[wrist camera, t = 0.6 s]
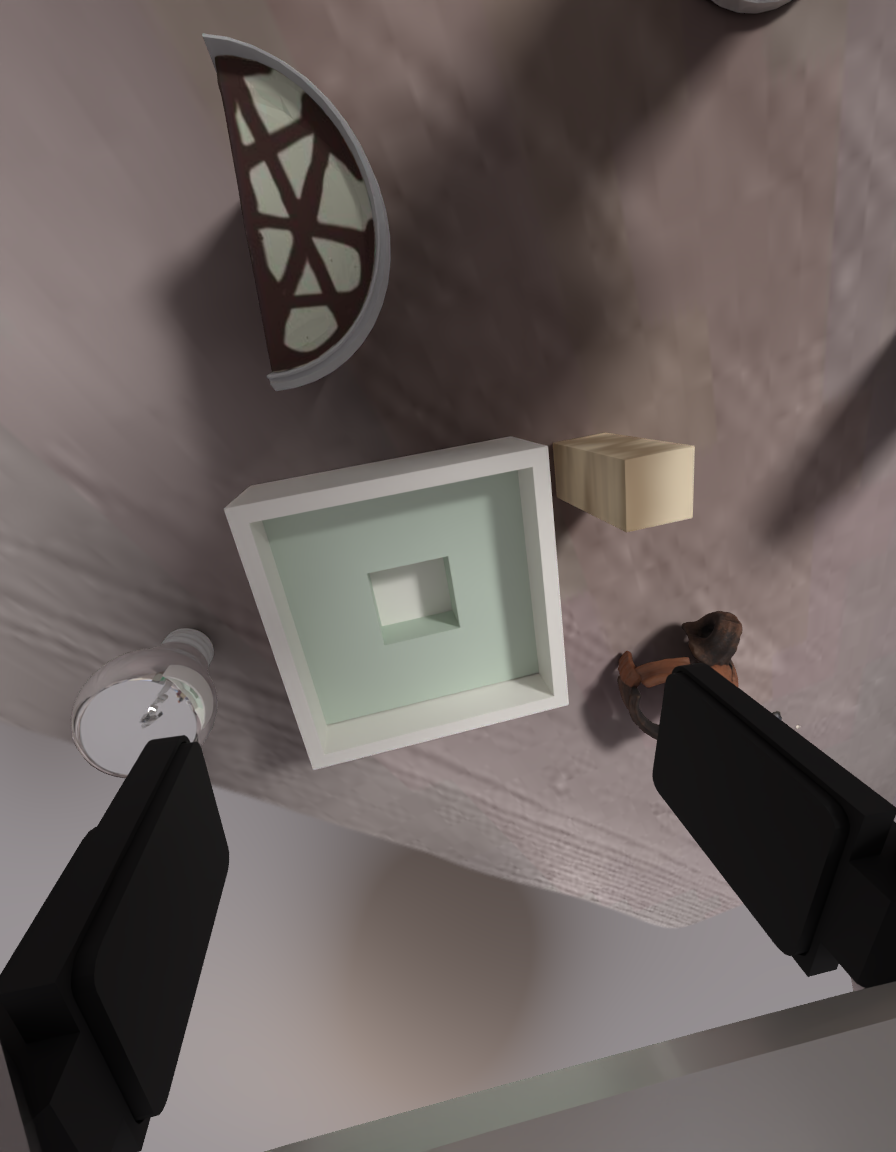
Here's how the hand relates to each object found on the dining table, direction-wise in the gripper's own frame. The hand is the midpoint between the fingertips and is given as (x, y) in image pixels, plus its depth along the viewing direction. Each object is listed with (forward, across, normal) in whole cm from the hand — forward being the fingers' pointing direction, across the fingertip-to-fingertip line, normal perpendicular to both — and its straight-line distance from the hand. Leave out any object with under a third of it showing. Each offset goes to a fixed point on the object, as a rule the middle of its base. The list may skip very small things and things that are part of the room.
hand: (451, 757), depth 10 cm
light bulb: (+26, +14, +9) cm, 31 cm away
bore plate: (+26, -2, +6) cm, 27 cm away
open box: (+26, -2, +6) cm, 27 cm away
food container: (+26, +2, -13) cm, 30 cm away
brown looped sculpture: (+26, -24, +16) cm, 39 cm away
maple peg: (+26, -15, -1) cm, 30 cm away
